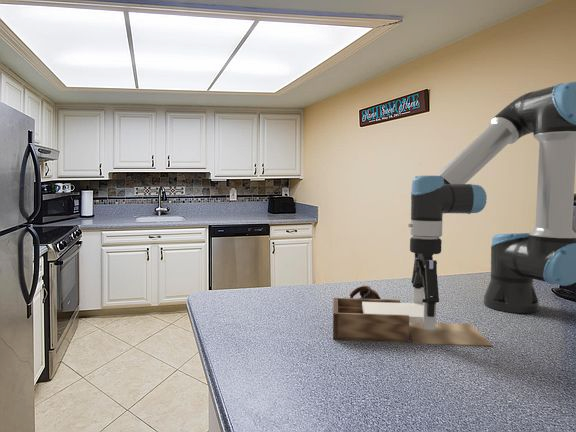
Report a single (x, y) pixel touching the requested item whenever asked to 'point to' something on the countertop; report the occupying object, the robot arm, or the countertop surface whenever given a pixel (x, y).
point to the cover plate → (395, 309)
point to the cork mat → (447, 334)
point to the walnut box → (367, 322)
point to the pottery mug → (365, 293)
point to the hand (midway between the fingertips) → (423, 320)
